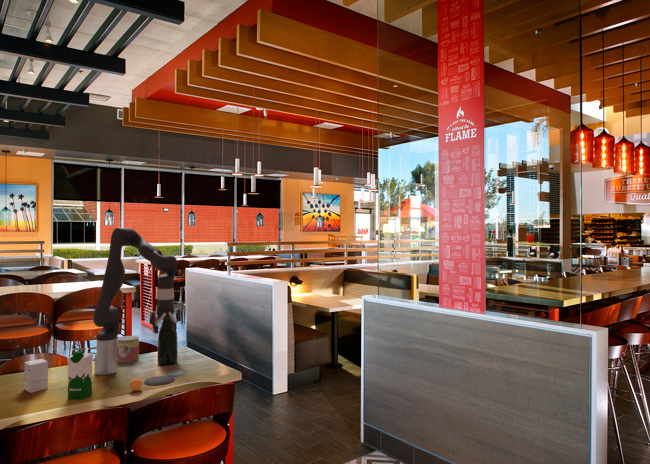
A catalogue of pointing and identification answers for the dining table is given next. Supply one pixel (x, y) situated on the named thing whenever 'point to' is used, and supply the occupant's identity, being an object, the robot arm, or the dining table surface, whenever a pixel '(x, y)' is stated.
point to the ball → (135, 384)
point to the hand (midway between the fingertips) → (165, 332)
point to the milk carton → (79, 375)
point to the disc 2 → (176, 373)
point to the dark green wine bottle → (167, 344)
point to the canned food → (127, 348)
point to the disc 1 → (159, 380)
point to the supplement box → (36, 375)
